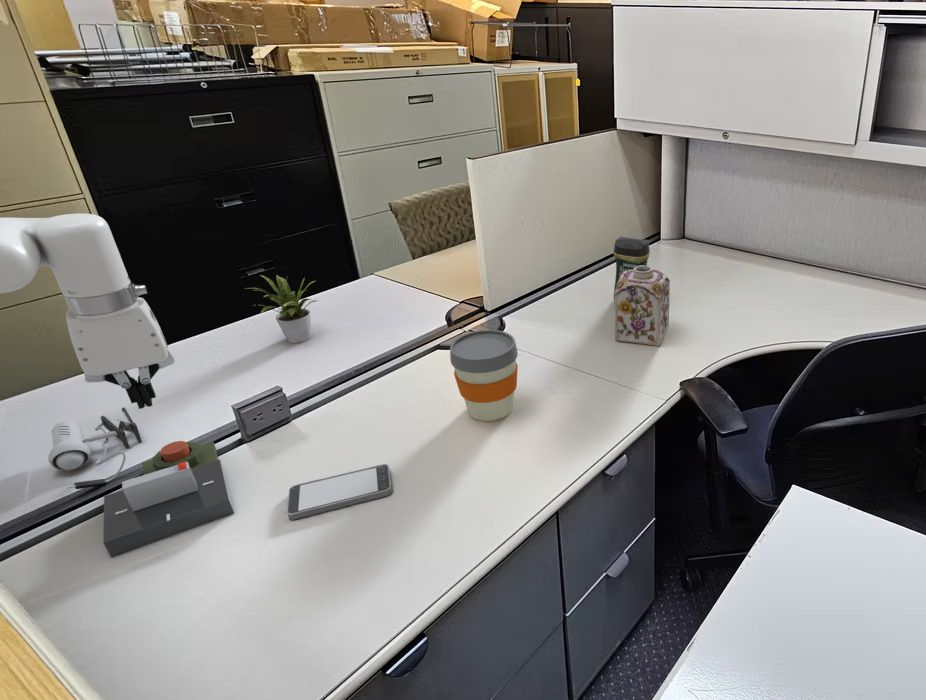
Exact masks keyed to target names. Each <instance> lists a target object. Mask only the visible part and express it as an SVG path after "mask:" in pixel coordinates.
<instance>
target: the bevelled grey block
mask: <svg viewBox="0 0 926 700" xmlns="http://www.w3.org/2000/svg"><path fill="white" fill-rule="evenodd" d="M121 490H123V492H124V494H125V496H126V498H127V500H128V502H129V504H130V506H131V508H132V510H133V511H137V510H140V509H143V508H146V507H149V506H152V505H155V504H158V503H161V502H164V501H167V500H170V499H173V498H176V497H179V496H182V495H185V494H189V493H192V492H195V491H198V486H197V482H196V480H195V477H194V475H193V473H192V470H191V468H190V466H189V463H188V462H186V461H185V462H182V463H179V464H178V465H175V466H172V467H169V468H166V469H162V470H159V471H156V472H152V473H149V474H146V475H143V474H142V475H140V476H137V477H133V478H130V479H127V480H123V481H122V482H121Z"/></svg>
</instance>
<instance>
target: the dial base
mask: <svg viewBox="0 0 926 700" xmlns="http://www.w3.org/2000/svg"><path fill="white" fill-rule="evenodd" d="M218 459H219V460H216V461H213V462H210V463H207V464H204V465H200V466H197V467H194V468H191V470H192V473H193V475H194V477H195V480H196V482H197V486H198V491H195V492H192V493H189V494H185V495H182V496H179V497H176V498H173V499H170V500H167V501H164V502H161V503H158V504H155V505H152V506H149V507H146V508H143V509H140V510H137V511H133V510H132V508H131V506H130V504H129V502H128V500H127V498H126V496H125V494H124V492H123V490H122V489H121V490H118V491H115V492H112V493H109V494H105V495H104V496H103V532H102V533H103V534H102V544H103V546H104V547H105V549H106V551H107V553H108V555H109V557H110V558H114V557H118V556H120V555H123V554H126V553H128V552H131V551H133V550H137V549H139V548H142V547H145V546H148V545H150V544H153V543H155V542H158V541H161V540H165V539H166V538H171V537H172V536H175V535H179V534H181V533H184V532H186V531H189V530H192V529H194V528H195V529H196V528H197V527H200V526H203V525H205V524H208V523H211V522H215V521H217V520H220V519H222V518H226V517H228V516H231V515H234V514H235V510H234V505H233V501H232V496H231V492H230V488H229V483H228V478H227V474H226V471H225V469H224V466H223V463H222V461H221V459H220V458H218Z"/></svg>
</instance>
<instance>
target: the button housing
mask: <svg viewBox="0 0 926 700" xmlns="http://www.w3.org/2000/svg"><path fill="white" fill-rule="evenodd" d="M185 442H186V443H187V445H188V447H189V450H190V454H189V455H188V456H186V457H184V458H182V459H180V460H177V461H174V462H165V461H164V459H163V457H162V454H161V452H160V451H161V450H159V451H158V452H156V454H155V455H154V456H153V457H152V458H151V459H150V460H147V461H143V462H142V463H141V464H142V476H143V475H146V474H149V473H152V472H156V471H159V470H162V469H166V468H169V467H172V466H175V465H178V464H179V463H182V462H185V461H186V462H188V463H189V466H190V468H194V467H197V466H200V465H204V464H207V463H210V462H213V461H216V460H219V459H220V458H219V455H218V450H217V446H216V445H215V442H214V441H210V442H207V443H203V444H200V443H197V442H195V441H185Z"/></svg>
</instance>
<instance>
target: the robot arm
mask: <svg viewBox="0 0 926 700" xmlns="http://www.w3.org/2000/svg"><path fill="white" fill-rule="evenodd" d="M42 267H48V268H49V269H50V270H51V271H52V274H53V275H54V278H55V280H56V282H57V285H58V287H59V289H60V292H61V293H62V296H63V298H64V300H65V303H66V305H67V307H68V309H67V310H66V311H65V321H66V325H67V330H68V334H69V339H70V341H71V344H72V347H73V349H74V352H75V355H76V358H77V360H78V363H79V365H80V367H81V370H82V371H83V373H84V381H85V382H86V383H102V382H103V383H104V382H108V383H111V384H113V385H116V386H120V387H121V388H122V389H124V390H125V391H126V393H127V397H128V398H129V401H130V403H131V404H135V403H136V405H137V406H138V409H139V410H141V409H144V408H145V407H148V408H149V407H153V399H156V398H157V395H156V392H155V390H154V387H153V384H152V381H151V380H152V379H153V377H154V376H155V375H156V374H157V373H158V372H159V370H161V369H165V368H167V367H169V366H172V365H173V364H175V358H174V356H173V355H172V353H171V351H169V350H168V347H169V346H168V343H167V341H166V337H165V336H164V334H163V330H162V329H161V326H160V325H159V322H158V320H157V318H156V316H155V314H154V312H153V310H152V309H151V307H150V305H149V304H148V302H147V301H146V300H145V298H143V297H140V296H142V295H144V294H145V295H146V294H148V290H147V287H146V285H145V284H140V285H139V284H135V283H132V280H131V279H130V277H129V275H128V272H127V269H126V267H125V265H124V262H123V259H122V257H121V253H120V251H119V248H118V246H117V244H116V241H115V239H114V236H113V233H112V231H111V228H110V225H109V224H108V222H107V221H106V220H105V219H104V218H103V217H101V216H100V215H97V214H93V213H82V212H81V213H78V212H77V213H66V214H59V215H54V216H50V217H0V294H9V293H12V292H15V291H16V292H17V291H18V290H21V289H23V288H24V287H26V286H27V285H29V284H30V283H31V282H32V281H33V280H34V278H35V277H36V274H37V272H38V269H40V268H42ZM134 369H137V370H138V376H137V379H135V378H134V377H133V376H131V375H130V373H129V370H134Z"/></svg>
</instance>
